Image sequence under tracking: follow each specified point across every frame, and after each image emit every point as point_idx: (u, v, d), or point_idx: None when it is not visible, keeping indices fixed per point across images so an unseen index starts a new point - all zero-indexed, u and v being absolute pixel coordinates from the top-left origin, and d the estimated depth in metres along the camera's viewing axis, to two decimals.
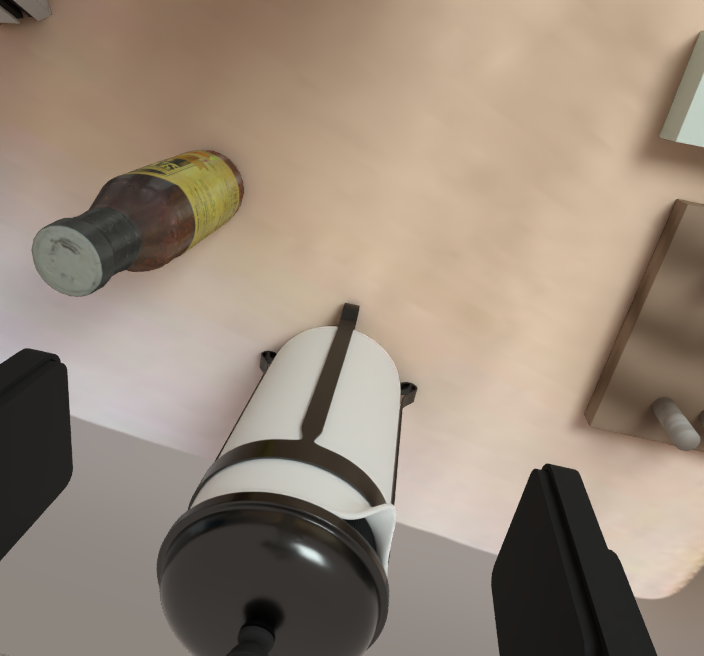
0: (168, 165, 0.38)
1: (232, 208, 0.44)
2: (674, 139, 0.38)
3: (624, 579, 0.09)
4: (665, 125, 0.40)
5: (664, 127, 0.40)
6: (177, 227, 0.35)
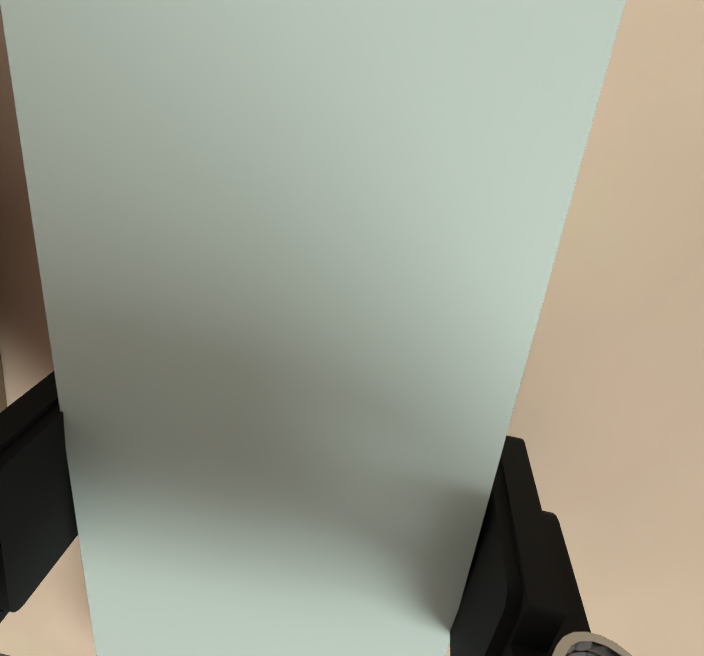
0: None
1: None
2: None
3: (561, 538, 0.09)
4: None
5: None
6: None
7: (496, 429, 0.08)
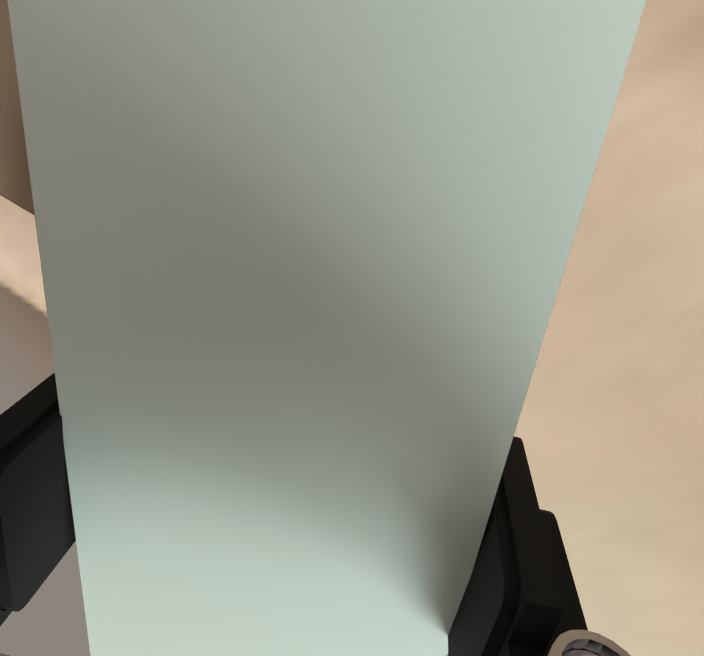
0: None
1: None
2: None
3: (558, 536, 0.09)
4: None
5: None
6: None
7: (502, 433, 0.08)
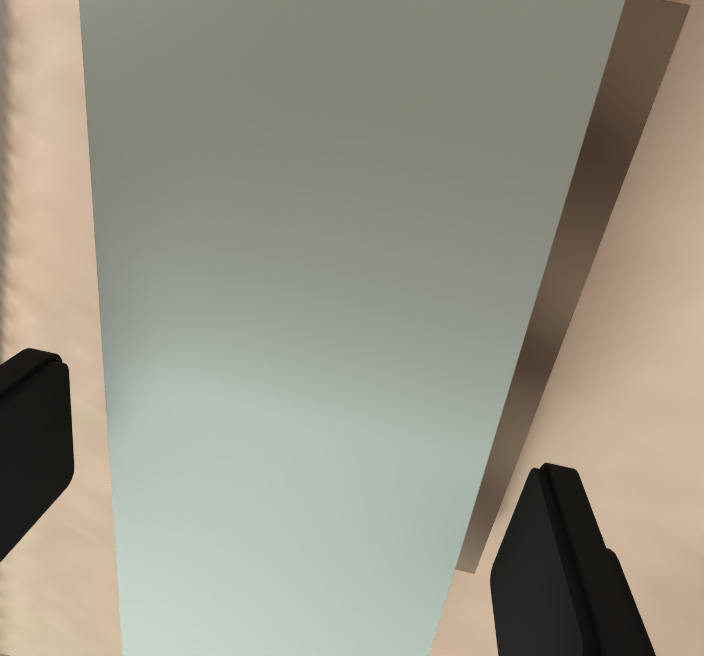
0: None
1: None
2: None
3: (622, 578, 0.09)
4: None
5: None
6: None
7: (496, 395, 0.09)
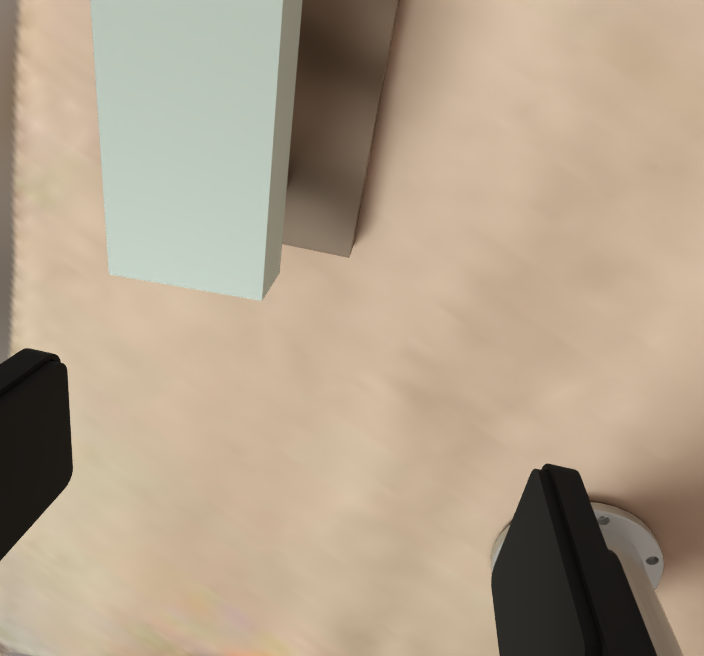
0: None
1: None
2: None
3: (623, 578, 0.09)
4: None
5: None
6: None
7: None
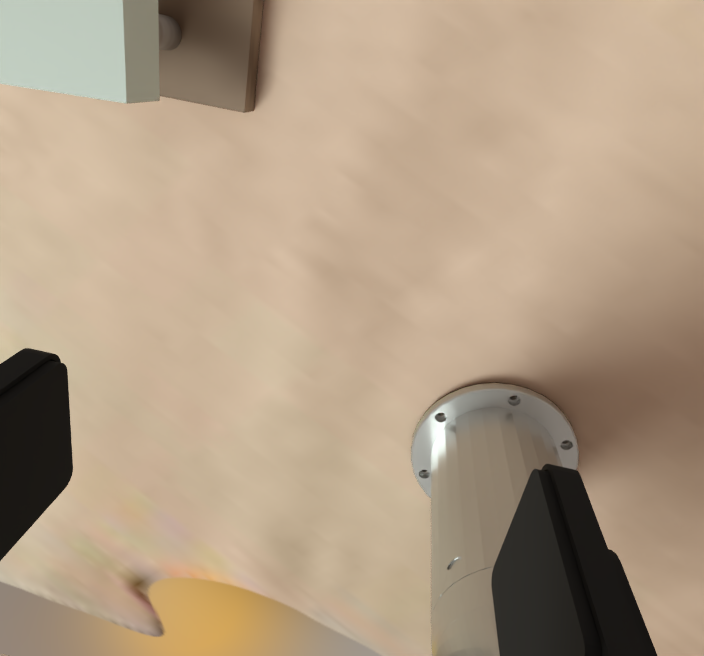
0: None
1: None
2: None
3: (623, 579, 0.09)
4: None
5: None
6: None
7: None
